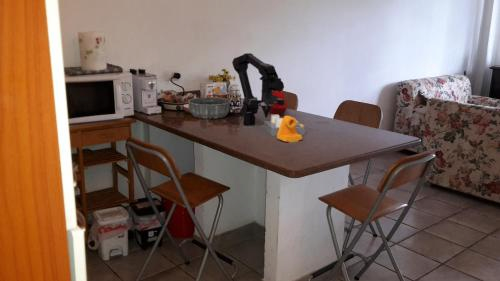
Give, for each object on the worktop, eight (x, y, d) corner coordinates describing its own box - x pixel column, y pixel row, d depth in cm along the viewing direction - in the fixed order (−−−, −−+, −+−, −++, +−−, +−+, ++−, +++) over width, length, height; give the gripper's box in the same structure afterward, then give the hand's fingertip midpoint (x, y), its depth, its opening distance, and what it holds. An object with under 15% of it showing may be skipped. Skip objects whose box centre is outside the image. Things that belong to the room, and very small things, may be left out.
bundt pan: (198, 122, 266) (198, 105, 263) (181, 114, 288) (181, 98, 285) (238, 118, 279) (238, 102, 276) (219, 111, 301) (219, 96, 298)
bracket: (284, 143, 225) (285, 119, 222) (276, 139, 231) (277, 116, 228) (302, 140, 230) (304, 117, 227) (294, 137, 236) (295, 114, 233)
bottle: (288, 118, 285) (289, 85, 280) (266, 117, 285) (267, 85, 280) (286, 113, 300) (288, 82, 295) (266, 112, 300) (267, 81, 295)
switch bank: (271, 135, 239) (271, 127, 238) (264, 127, 256) (264, 119, 255) (304, 135, 242) (305, 126, 241) (295, 127, 259) (295, 119, 258)
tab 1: (271, 126, 251) (272, 115, 249) (270, 125, 254) (270, 114, 252) (278, 126, 252) (279, 115, 250) (277, 125, 254) (278, 114, 253)
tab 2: (276, 130, 241) (276, 119, 240) (274, 129, 244) (275, 118, 243) (283, 130, 242) (284, 119, 241) (282, 129, 245) (282, 118, 243)
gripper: (252, 91, 237) (251, 120, 241) (287, 91, 241) (286, 120, 245) (248, 88, 248) (248, 116, 252) (282, 88, 251) (281, 116, 255)
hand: (265, 117), depth 251 cm, fingers closed
